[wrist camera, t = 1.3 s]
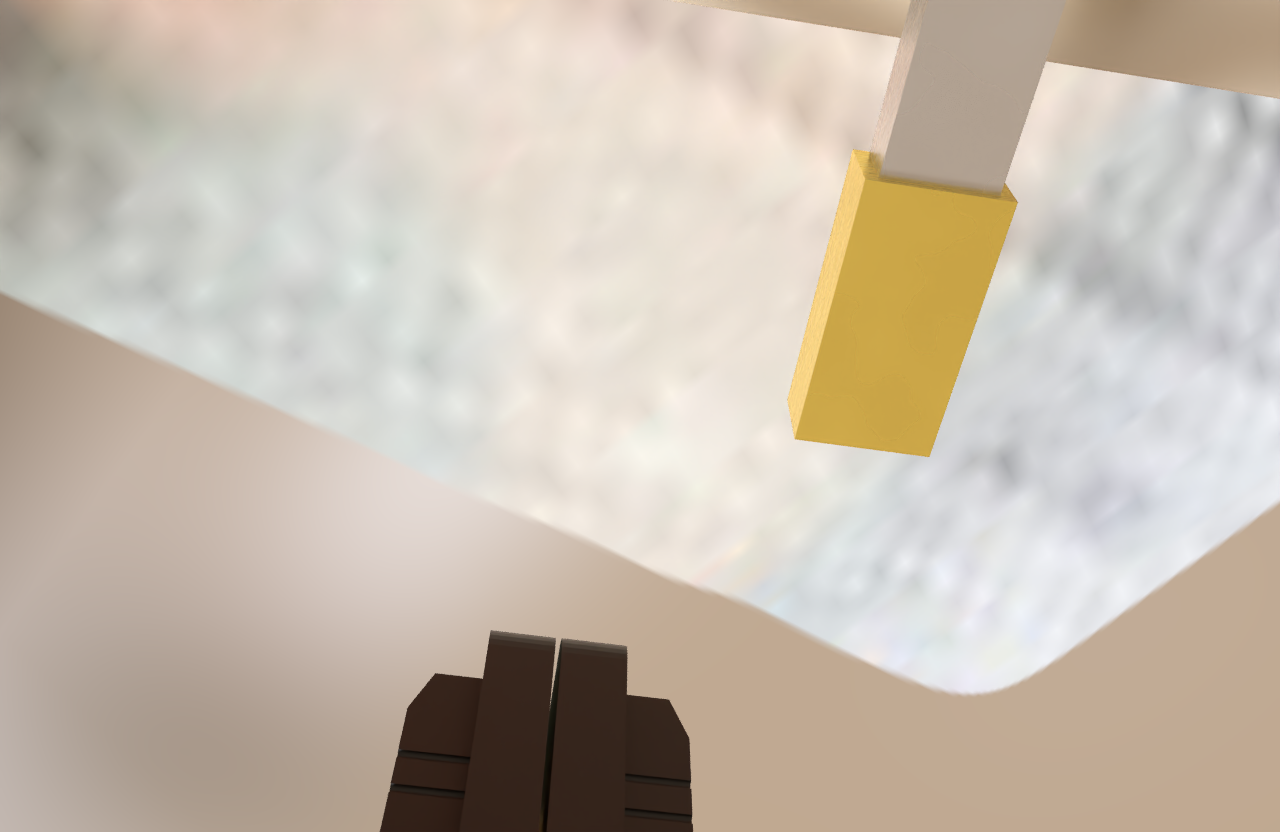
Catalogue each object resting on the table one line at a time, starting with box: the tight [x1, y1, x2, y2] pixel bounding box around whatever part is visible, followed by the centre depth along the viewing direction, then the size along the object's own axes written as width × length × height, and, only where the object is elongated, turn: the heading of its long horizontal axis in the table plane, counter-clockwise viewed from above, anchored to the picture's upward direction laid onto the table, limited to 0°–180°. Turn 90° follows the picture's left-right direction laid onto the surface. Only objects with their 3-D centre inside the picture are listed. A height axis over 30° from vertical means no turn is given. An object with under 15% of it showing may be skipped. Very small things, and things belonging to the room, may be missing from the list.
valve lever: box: [788, 0, 1066, 457], centre depth 23 cm, size 15×3×3 cm, turn 171°
